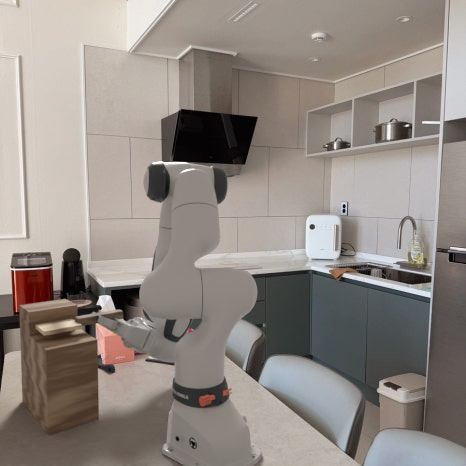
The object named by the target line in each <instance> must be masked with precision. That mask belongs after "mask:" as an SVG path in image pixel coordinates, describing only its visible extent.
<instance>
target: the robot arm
mask: <svg viewBox="0 0 466 466" xmlns="http://www.w3.org/2000/svg"><path fill="white" fill-rule="evenodd" d="M142 183H143V184H142V185H143V188H144V191H145V195H146V197H147V198H148V199H149V200H150V201H153V202H156V203H160V204H161V208H160V212H159V213H160V214H159V222H158V226H159V227H158V236H157V237H158V239H157V244H156V246H155V249H154V253H153V257H152V266H151V272H149V273H148V274H147V275H145V277H144V278H143V280H142V283H141V285H140V288H139V295H138V296H139V303H140V305H141V308H142V313H143V316H144V318H143V317H140V316H137V317H133V318H130V319H128V320H124V319H118V318H115V319H114V320H111V319H108V318H105V317H103V316H101V315H99V316H98V317H97V319H96V321H97V322H98V323H97V324H98V325H99V326H101V327H103V328H105V329H106V330H108V331H110V332H111V333H113V334H115V335H116V336H118V337H119V338H120V339H121V341H122V343H123V344H122V345H123V346H124V348H127V349H129V350H131V351H134V352H137V353H140V354H147V355H148V357H153V358H155V359H158V360H162V361H166V362H175V365H174V376H173V379H172V385H171V389H172V397H173V402H172V405H171V408H170V410H169V412H168V417H167V419H168V420H167V429H166V442H165V443H164V444H163V445H162V448H161V449H162V450H161V453H162V454H163V455H164V456H166V457H168V458H169V459H172V460H174V461H175V462H177V463H179V464H181V465H182V466H255V465H256V464H258V463H259V461H260V460H261V458H262V457H263V453H262V451H263V450H261V448H260V447H258V445H257V444H255V442H253V441H252V440H251V431H250V428H249V425H248V422H247V421H248V420H247V417H246V415H245V414H244V413H240V412H239V410H238V408H237V407H236V406H235V404H234V403H233V401H232V399H231V398H230V395H231V394H232V393H233V392H230V391H232V390H233V389H232V387H231V388H229V385H228V381H227V378H226V376H225V361H226V349H227V345H228V341H229V338H230V336H231V333H232V331H233V329H234V328H235V326H236V325H237V324H238V323H239V321H240V320H241V319H242V318H244V317H245V316H246V315H248V314H249V313H250V312H251V311H252V309H253V308H254V307H255V305H256V303H257V298H258V286H257V283H256V280H255V279H254V276H253V275H252V274H251V273H250V272H249V271H247V270H245V269H239V268H238V269H237V268H234V267H233V268H232V267H202V268H201V267H197V266H195V265H196V264H195V263H196V262H197V261H198V260H200V259H201V258H203V257H205V256H207V255H210V254H211V253H212V252H213V251H215V250H216V249H217V248H218V246H219V244H220V241H221V230H220V227H221V226H220V217H219V216H220V215H219V207H218V206H219V205H220V204H221V203H223V201H225V200H226V197H227V193H228V189H229V181H228V177H227V174H226V172H225V170H224V169H223V168H221V167H218V166H215V165H210V166H208V165H205V164H204V165H203V164H196V163H189V162H185V161H184V162H183V161H181V162H180V161H173V162H164V161H156V162H152V163H150V164H149V165H148V166H147V169H146V171H145V172H144V175H143V182H142ZM100 312H105V311H104V310H101V309H98V311H97V313H100ZM94 313H96V312H95V311H93V312H91V314H94ZM194 319H201V322H200V323H199V325H198V326H197V327H196V328H195V329H194V330H192V331H190V332H189V328H190V327H191V325H192V323H193V321H194Z"/></svg>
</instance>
